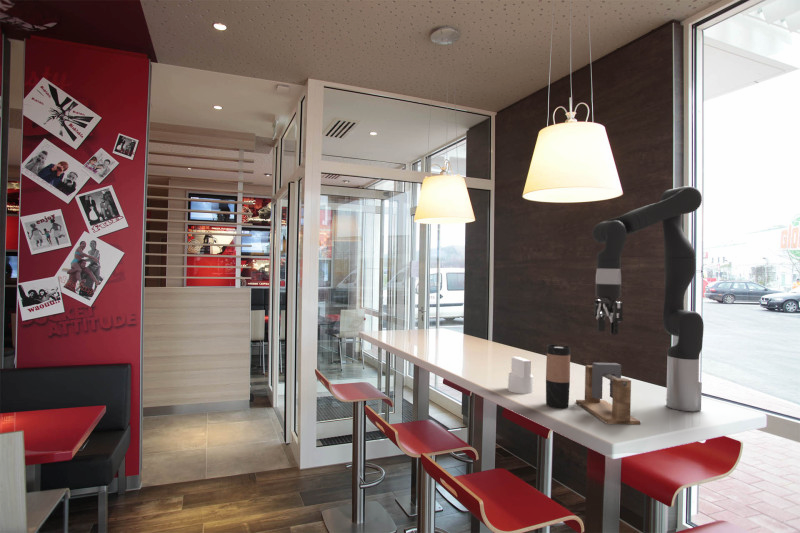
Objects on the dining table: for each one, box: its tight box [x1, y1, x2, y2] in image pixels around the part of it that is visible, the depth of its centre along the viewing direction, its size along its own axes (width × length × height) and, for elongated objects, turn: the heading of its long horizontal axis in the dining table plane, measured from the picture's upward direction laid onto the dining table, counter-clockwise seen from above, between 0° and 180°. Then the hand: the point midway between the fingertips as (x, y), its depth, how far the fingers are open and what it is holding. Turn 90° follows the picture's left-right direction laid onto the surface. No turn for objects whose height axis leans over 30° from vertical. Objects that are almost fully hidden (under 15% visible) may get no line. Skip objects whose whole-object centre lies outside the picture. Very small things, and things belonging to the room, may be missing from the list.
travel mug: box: [545, 344, 571, 410], centre depth 154 cm, size 8×8×20 cm
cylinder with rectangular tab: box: [507, 356, 534, 395], centre depth 172 cm, size 9×9×12 cm
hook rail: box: [575, 364, 641, 425], centre depth 147 cm, size 10×22×13 cm, turn 2°
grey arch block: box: [592, 362, 622, 400], centre depth 147 cm, size 8×3×11 cm, turn 92°
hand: (607, 332), depth 147 cm, fingers open, 8 cm apart
